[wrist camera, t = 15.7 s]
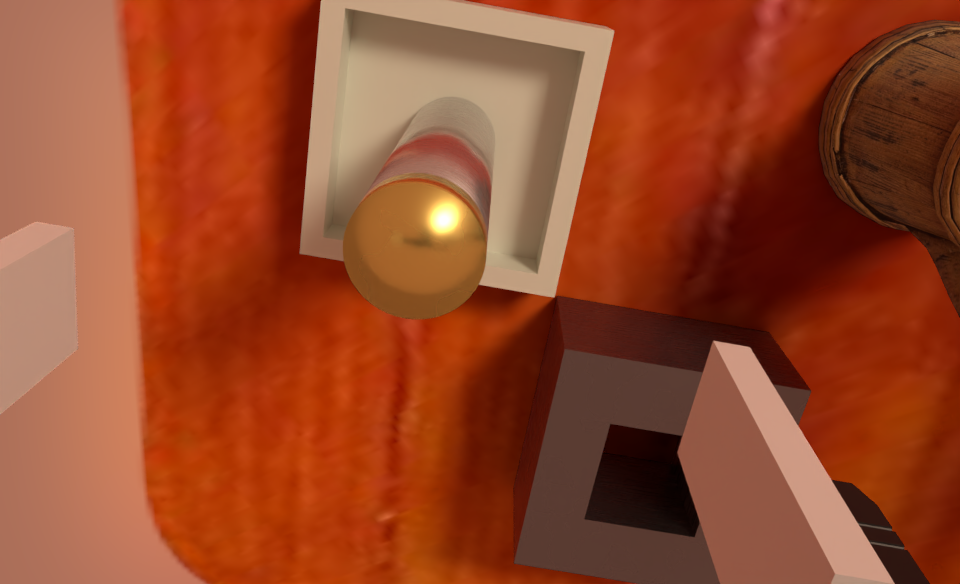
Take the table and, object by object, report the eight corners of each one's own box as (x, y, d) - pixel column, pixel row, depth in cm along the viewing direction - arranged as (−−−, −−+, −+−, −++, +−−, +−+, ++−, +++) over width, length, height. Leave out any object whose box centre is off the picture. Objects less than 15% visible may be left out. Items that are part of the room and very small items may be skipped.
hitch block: (557, 295, 39) (564, 348, 34) (769, 332, 39) (811, 391, 34) (513, 488, 44) (513, 563, 38) (703, 519, 44) (731, 598, 38)
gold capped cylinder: (414, 89, 35) (350, 172, 21) (502, 105, 35) (497, 197, 21) (403, 175, 36) (336, 306, 22) (487, 190, 36) (473, 329, 22)
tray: (337, -23, 34) (322, -23, 31) (606, 26, 34) (614, 30, 32) (313, 234, 38) (299, 253, 36) (551, 276, 39) (554, 297, 36)
